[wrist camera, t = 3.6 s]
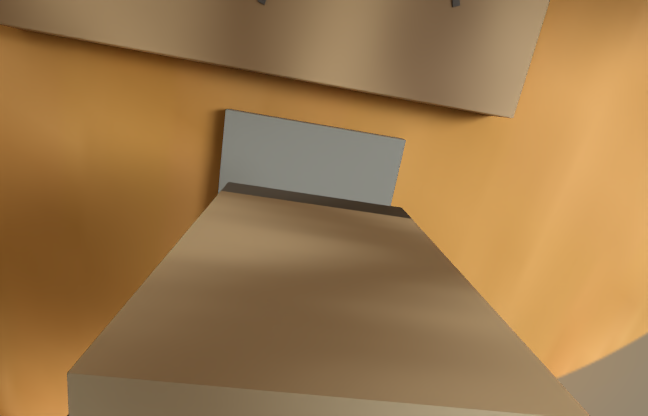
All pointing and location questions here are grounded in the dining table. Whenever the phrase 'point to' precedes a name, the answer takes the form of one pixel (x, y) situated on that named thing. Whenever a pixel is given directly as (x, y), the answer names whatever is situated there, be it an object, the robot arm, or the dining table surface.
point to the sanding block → (309, 323)
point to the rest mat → (309, 158)
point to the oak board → (323, 41)
